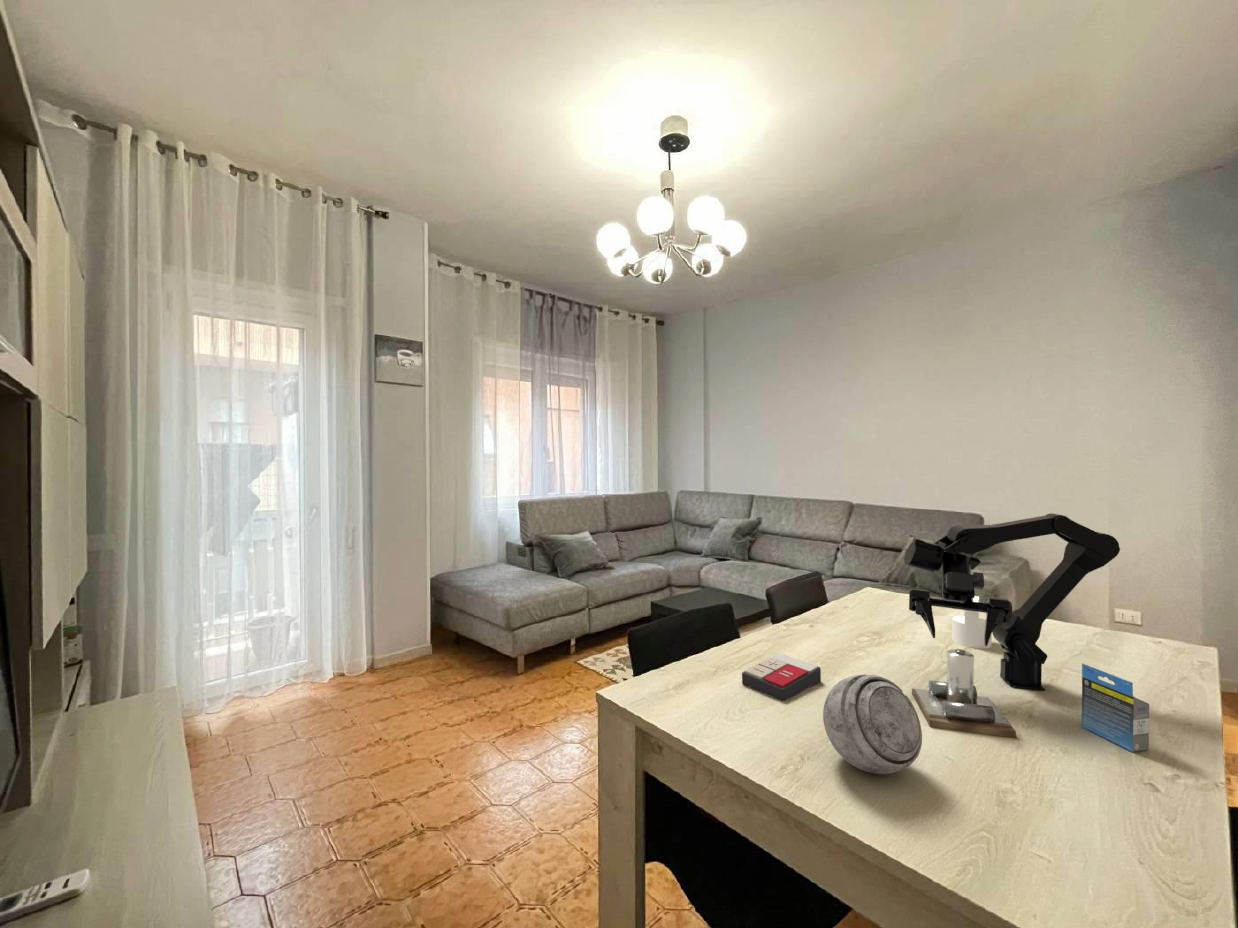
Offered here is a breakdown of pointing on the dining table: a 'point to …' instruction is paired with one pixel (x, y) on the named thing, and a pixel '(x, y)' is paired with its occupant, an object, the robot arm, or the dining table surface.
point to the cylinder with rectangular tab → (970, 629)
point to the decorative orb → (872, 724)
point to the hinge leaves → (960, 706)
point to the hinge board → (964, 722)
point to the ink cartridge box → (1114, 710)
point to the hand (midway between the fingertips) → (959, 640)
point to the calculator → (782, 676)
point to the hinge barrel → (960, 676)
